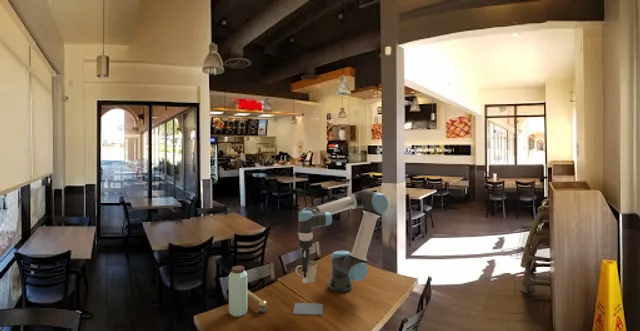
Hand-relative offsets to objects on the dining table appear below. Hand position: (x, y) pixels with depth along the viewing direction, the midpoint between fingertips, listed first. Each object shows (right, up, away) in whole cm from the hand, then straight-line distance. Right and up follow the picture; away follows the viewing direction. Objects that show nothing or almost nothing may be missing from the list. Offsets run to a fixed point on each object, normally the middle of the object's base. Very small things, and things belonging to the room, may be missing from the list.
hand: (305, 280), depth 192 cm
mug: (0, -1, 0) cm, 1 cm away
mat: (+1, -17, +1) cm, 17 cm away
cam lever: (-30, -13, +6) cm, 33 cm away
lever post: (-23, -17, -3) cm, 29 cm away
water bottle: (-36, -17, -4) cm, 40 cm away
